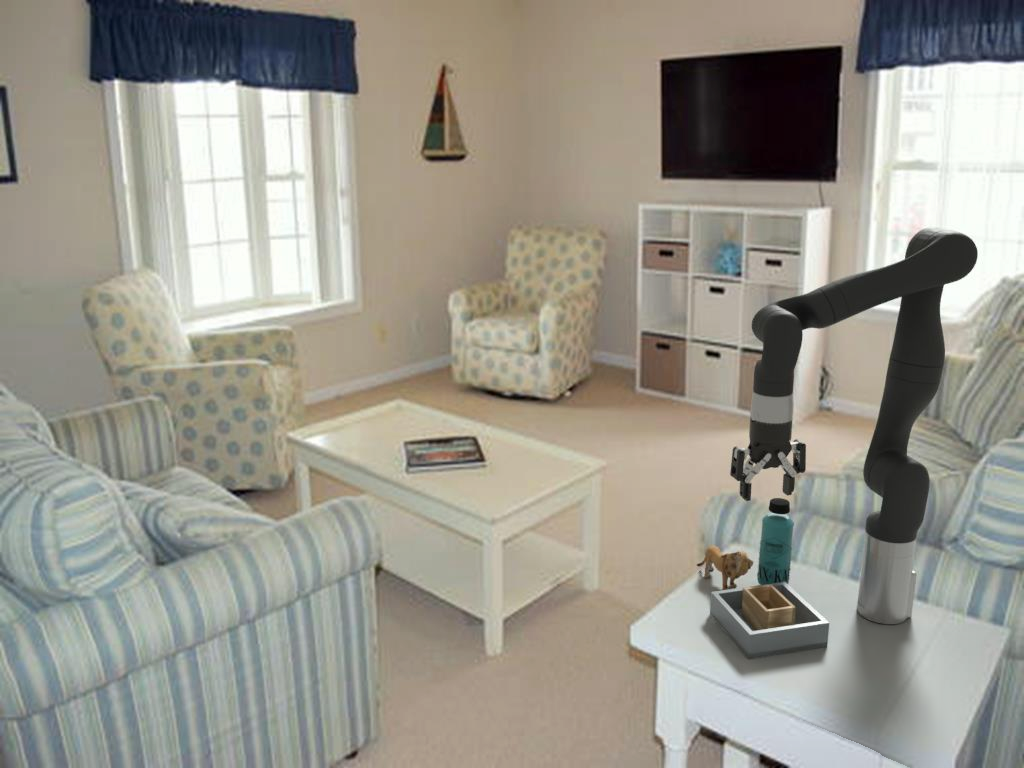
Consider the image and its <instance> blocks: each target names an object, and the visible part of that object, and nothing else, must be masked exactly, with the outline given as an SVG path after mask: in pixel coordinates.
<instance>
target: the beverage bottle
mask: <svg viewBox="0 0 1024 768" xmlns="http://www.w3.org/2000/svg"><path fill="white" fill-rule="evenodd" d="M790 505H791V504H790V501H789V500H788V499H786V498H781V497H773V498H772V499H769V506H768V510H769V513H768V514H766V515H764V516H763V517H762V520H761V522H762V523H761V524H762V525H761V532H760V533H761V534H760V535H761V536H760V542H759V551H758V565H757V571H756V572H757V574H756V577H757V578H756V579H757V582H758V585H765V584H772V583H780V582H786V583H787V584H788V585H789V583H790V577H791V574H790V573H791V568H792V567H791V565H792V564H791V563H792V562H791V561H792V558H793V557H792V556H793V554H792V550H793V547H792V546H793V535H794V526H795V522H794V520H793V519H792V518H791V516H789V515H788V514H789V513H790V512H791V506H790Z"/></svg>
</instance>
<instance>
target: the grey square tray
mask: <svg viewBox="0 0 1024 768" xmlns="http://www.w3.org/2000/svg"><path fill="white" fill-rule="evenodd" d="M765 585H770V584H765ZM772 585H773V586H774V587H775V588H776V589H777V590H778V591H779V592H780V593H781V594H782V595H783V596H784V597H785V598H786V599H787V600H788V601H790V602H791V603H792V604H793V605H794V606H795V607H796V609H795V621H794V625H790V626H783V627H777V628H770V629H763V630H757V631H755V630H754V629H753V628H752V627H751V626H750V624H749V623H748V622H747V621H746V620H745V619H744V618H743V617H742V616H741V615H742V599H743V588H748V587H749V586H745V587H738V588H737V587H735V588H730V589H729V588H728V589H729V590H723V589H722V590H715V591H711V592H710V603H709V605H710V608H709V615H710V617H711V618H712V619H713V620H714V621H715V622H716V623H717V625H718V626H719V627H720V628H721V629H722V631H724V633H725V634H726V635H727V636H728V638H729V639H730V640H731V641H732V642H733V643H734V644H735V645H736V647H737V646H738V647H737V648H738V649H739V650H740V651H741V652H742V654H743V653H744V654H745V655H744V654H743V655H744V656H745V657H746V658H747V659H748V660H752V659H757V658H763V657H764V658H765V657H770V656H775V655H777V656H778V655H782V654H788V653H795V652H803V651H808V650H815V649H820V648H827V647H828V641H829V633H830V632H829V631H830V622H829V621H828V620H827V619H826V618H825V617H824V616H823V615H822V614H820V613H819V611H817V610H816V609H815V607H813V606H812V605H811V604H810V603H809V602H807V600H805V599H804V598H803V597H802V596H801V595H799V593H798V592H797V591H796V590H795V589H794V588H792V587H791V586H790V585H789V584H787V583H786V582H780V583H772ZM755 586H756V585H751V586H750V587H755ZM757 586H763V585H760V584H758V585H757Z"/></svg>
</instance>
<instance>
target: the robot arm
mask: <svg viewBox="0 0 1024 768" xmlns="http://www.w3.org/2000/svg"><path fill="white" fill-rule="evenodd" d="M977 248H978V247H977V246H976V242H975V241H974V240H973V239H972V238H971V237H970V236H968V235H967V234H965V233H963V232H960V231H957V230H952V229H946V228H942V227H934V226H930V227H929V226H928V227H925V228H923V229H920V230H919V231H918V232H917V233H915V234H914V235H913V236H912V238H911V239H910V240H909V241H908V244H907V247H906V251H905V255H904V259H902V260H900V261H899V260H898V261H897V262H895V263H891V264H889V265H885V266H882V267H879V268H875V269H871V270H866V271H863V272H858V273H854V274H850V275H848V276H845V277H842V278H839V279H836V280H834V281H831V282H829V283H826V284H825V285H821V286H820V287H818V288H816V289H814V290H812V291H810V292H807V293H804V294H800V295H796V296H792V297H791V296H790V297H788V298H785V299H781V300H778V301H775V302H771V303H768V304H767V305H764V306H763V307H762V308H761V309H759V310H758V311H757V312H756V313H755V314H754V316H753V318H752V320H751V331H752V333H753V335H754V336H755V338H756V339H758V340H759V341H760V342H762V354H761V358H760V359H759V360H758V361H757V362H756V363H755V366H754V371H753V386H752V387H753V388H752V389H753V390H752V395H751V400H750V414H749V432H748V433H749V435H748V437H749V444H748V446H747V447H738V446H737V445H736V446H734V447H733V448H732V454H731V463H730V472H729V474H730V477H732V478H733V479H735V480H736V481H737V482H739V496H740V497H741V498H742V500H744V501H746V502H750V501H752V482H751V481H752V480H753V478H754V477H755V476H756V475H758V474H759V473H760V472H761V470H768V469H770V468H772V469H776V468H780V467H781V469H782V470H783V472H784V473H782V474H783V476H782V478H783V479H782V493H784V494H785V495H786V496H792V495H793V493H794V490H795V485H796V483H795V482H796V476H797V475H798V474H804V473H805V472H806V470H807V469H806V465H807V463H806V462H807V460H806V459H807V458H806V457H807V452H806V451H807V445H806V443H804V442H803V441H801V440H799V439H794V440H793V442H792V441H791V440H792V433H793V419H794V418H793V417H794V395H793V393H794V381H795V380H794V379H795V368H796V365H797V362H798V359H799V355H800V352H801V348H802V343H803V334H804V333H803V331H804V330H806V329H819V330H821V329H825V328H828V327H831V326H833V325H836V324H838V323H840V322H842V321H845V320H847V319H849V318H851V317H853V316H856V315H858V314H860V313H863V312H865V311H867V310H870V309H872V308H875V307H878V306H880V305H883V304H886V303H887V302H890V301H891V302H892V301H894V300H896V299H899V298H901V299H900V303H899V305H900V306H899V310H898V315H897V320H896V325H895V326H896V327H895V330H894V337H893V341H892V342H893V343H892V346H891V350H890V354H889V359H888V365H887V370H886V375H885V383H884V387H883V394H882V396H881V401H880V402H881V403H880V407H879V412H878V417H877V421H876V423H875V427H874V432H873V434H872V437H871V441H870V443H869V448H868V450H867V453H866V456H865V459H864V464H863V465H864V466H863V471H862V473H863V474H862V475H863V480H864V483H865V485H866V487H868V488H869V489H870V490H871V491H872V492H873V493H875V494H877V495H878V497H880V498H882V500H881V501H882V502H881V506H880V510H877V511H874V512H872V513H869V514H868V515H867V517H866V520H865V528H864V529H865V531H864V540H863V550H862V558H861V566H860V567H861V568H860V576H859V588H858V593H857V604H856V610H857V612H858V614H859V615H860V616H862V617H863V618H865V619H867V620H869V621H871V622H874V623H878V624H883V625H898V624H901V623H903V622H904V621H906V619H908V618H912V617H913V616H912V615H913V607H914V600H915V590H916V583H917V582H916V581H917V575H918V574H917V572H916V571H915V570H914V562H915V553H916V546H917V539H918V538H917V537H918V532H919V530H920V528H921V526H922V524H923V522H924V519H925V514H926V509H927V503H928V497H929V493H930V480H931V479H930V475H929V471H928V469H927V468H926V466H925V465H923V463H921V462H919V461H918V460H917V459H914V458H913V457H911V456H909V455H908V446H909V441H910V437H911V431H912V429H913V426H914V424H915V422H916V420H917V419H918V418H919V417H920V415H921V414H922V413H923V412H924V411H925V409H926V408H927V407H928V406H929V404H930V403H931V402H932V401H933V399H935V397H936V395H937V393H938V390H939V387H940V383H941V379H942V375H943V369H944V365H945V359H946V358H945V356H946V348H945V346H946V344H945V337H944V330H943V325H942V320H941V302H942V295H943V291H944V286H945V285H949V284H952V283H955V282H958V281H961V280H962V279H964V278H965V277H967V276H968V275H969V274H970V273H971V272H972V271H973V269H974V268H975V266H976V264H977V260H978V249H977ZM791 452H792V463H791V462H790V461H789V459H788V458H787V457H788V456H789V455H790V453H791ZM747 456H749V458H748V459H747ZM754 464H755V465H754Z"/></svg>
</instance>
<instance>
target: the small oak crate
mask: <svg viewBox="0 0 1024 768" xmlns="http://www.w3.org/2000/svg"><path fill="white" fill-rule="evenodd" d="M754 586H755V587H751V586H747V587H748V588H744V587H742V588H743V599H742V615H741V616H742V617H743V618H744V619H745V620H746V621H747V622H748V623H749V624H750V626H751V627H752V628H753V629H754V630H755V631H757V630H763V629H770V628H777V627H783V626H790V625H794V621H795V609H796V607H795V606H794V605H793V604H792V603H791V602H790V601H788V600H787V599H786V598H785V597H784V596H783V595H782V594H781V593H780V592H779V591H778V590H777V589H776V588H775V587H774V586H773V585H772V584H770V585H763V586H758V585H754Z"/></svg>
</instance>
